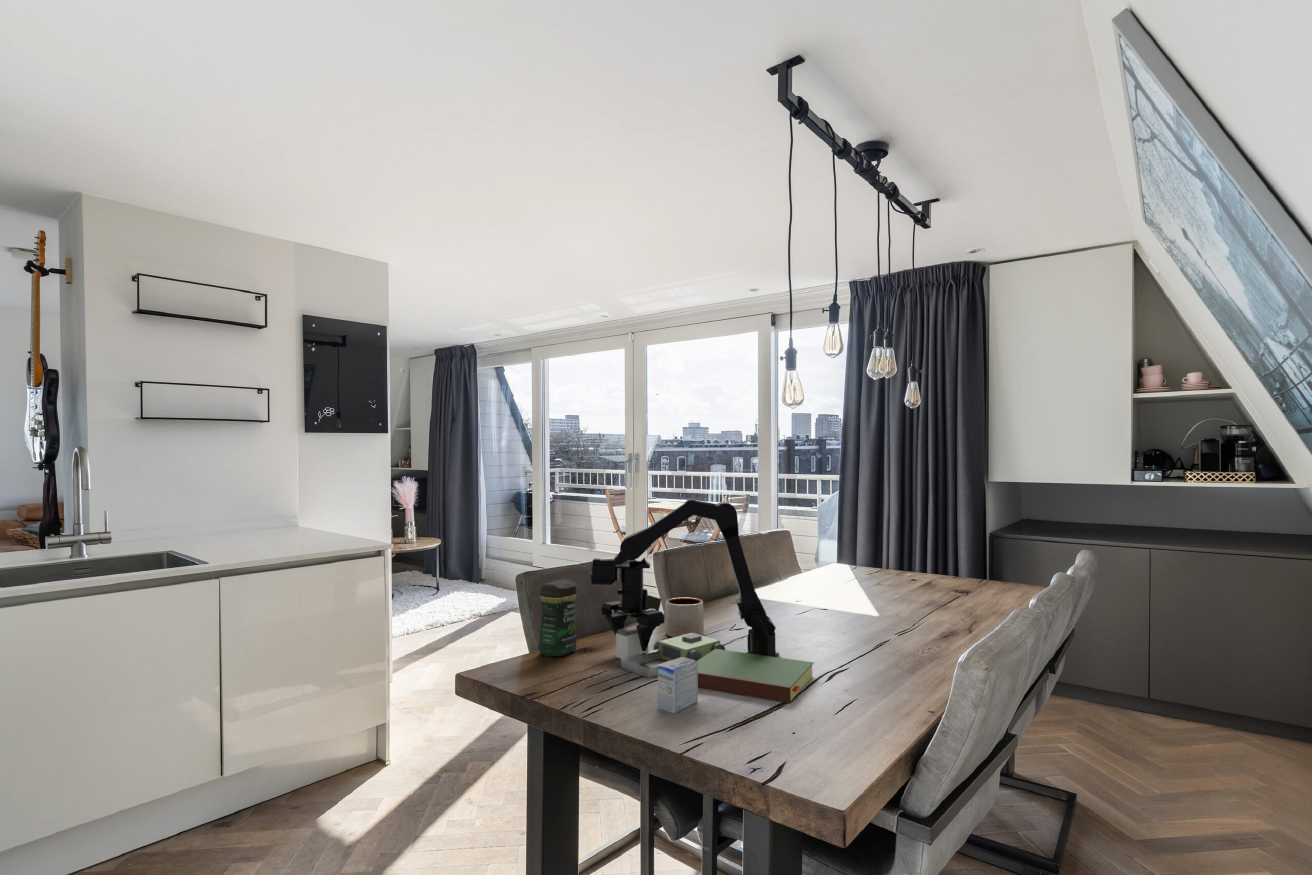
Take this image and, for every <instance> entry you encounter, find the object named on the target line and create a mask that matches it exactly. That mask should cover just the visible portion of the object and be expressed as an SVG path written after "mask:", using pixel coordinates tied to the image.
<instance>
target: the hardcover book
mask: <svg viewBox="0 0 1312 875" xmlns="http://www.w3.org/2000/svg"><path fill="white" fill-rule="evenodd" d="M697 662H698V689H702V690H707V691H708V690H709V691H714V692H720V693H726V694H733V695H738V696H743V697H748V698H749V697H750V698H755V699H759V700H766V701H772V702H778V703H783V704H791V702H792V701H793V700H794V698H795V697H796V696H797V695H798V694H799V692H800V691H801V690H802V689H803V688H804V687H805V686H806V685H807V684H808V682H809V681H810V680H811V679H812V678H813V665H814V661H808V660H807V661H806V660H799V659H792V658H784V657H779V656H776V657H771V656H764V655H757V654H750V653H746V652H741V651H733V650H728V649H725V650H721V649H714V650H713V651H711V652H710V653H708V654H707V655H705V656H704V657H702V658H701V659H699V660H698V661H697Z"/></svg>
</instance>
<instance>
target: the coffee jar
mask: <svg viewBox="0 0 1312 875" xmlns="http://www.w3.org/2000/svg"><path fill="white" fill-rule="evenodd" d="M539 599H540V603H541V620H540V635H539V647H538V648H539V649H538V650H539V653H540V654H542V655H543V656H546V657H549V658H550V657H561V656H565V655H568V654H571V653H572V652H575V651H576V650H577V632H576V630H577V629H576V612H575V608H576V599H577V583H576V582H575V581H574V580H571V579H563V578H562V579H557V580H554V581H550V582H546V583H545V582H544V583H543V584H542V585H541V586H540V592H539Z"/></svg>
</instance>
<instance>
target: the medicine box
mask: <svg viewBox="0 0 1312 875" xmlns="http://www.w3.org/2000/svg"><path fill="white" fill-rule="evenodd" d="M666 662H667V663H665V662H664V663H665V664H662V665H660V666H658V675H657V708H658V709H659V710H661V711H664V712H668V713H670V714H676V713H678V712H680V711H682V710H684V709H686V708H688V707H690V706H692V705H694V704H696V703H698V700H699V699H698V697H699V695H698V692H699V691H698V690H699V688H698V662H697V661H695V660H692V659H688V658H684V657H680V658H677V659H674V660H672V661H669V662H668V661H666Z"/></svg>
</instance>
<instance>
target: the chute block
mask: <svg viewBox="0 0 1312 875" xmlns="http://www.w3.org/2000/svg"><path fill="white" fill-rule="evenodd" d="M645 652H649V646H648V647H647V650H646V651H642V649H641V645H640V640H639V636H638V631H637V626H636V625H633V626H628V627H624V628H623V629H619V630H618V633H616V636H615V658H618V659H620V660H621V659H623V658H627V657H630V656H634V655H638V654H642V653H645Z"/></svg>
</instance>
